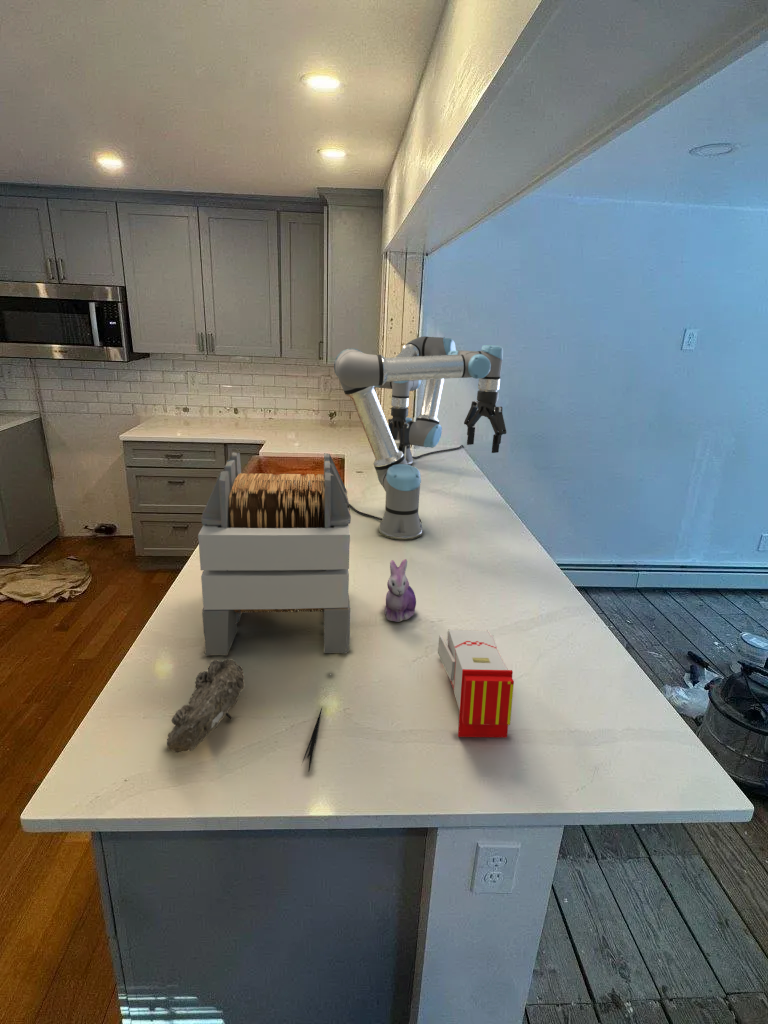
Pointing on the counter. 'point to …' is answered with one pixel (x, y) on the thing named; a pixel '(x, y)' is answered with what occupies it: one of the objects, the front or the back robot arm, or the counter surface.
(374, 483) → the counter surface
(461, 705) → the toy
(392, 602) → the figurine
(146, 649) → the counter surface
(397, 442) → the block
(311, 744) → the feather
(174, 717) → the fossil
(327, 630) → the record crate
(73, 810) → the counter surface
